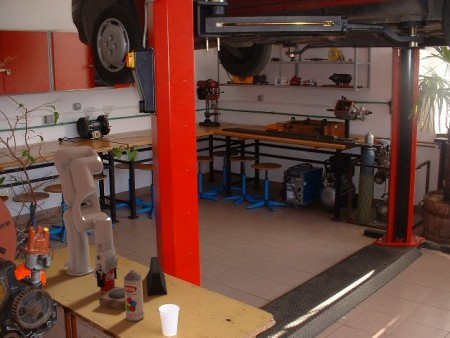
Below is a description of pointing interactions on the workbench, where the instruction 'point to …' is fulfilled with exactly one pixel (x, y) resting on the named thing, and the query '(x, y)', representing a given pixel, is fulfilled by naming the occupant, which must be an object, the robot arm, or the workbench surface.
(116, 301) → the walnut plinth
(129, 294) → the aerosol can
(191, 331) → the workbench surface
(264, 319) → the workbench surface
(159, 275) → the barrier
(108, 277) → the beverage can
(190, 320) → the workbench surface
